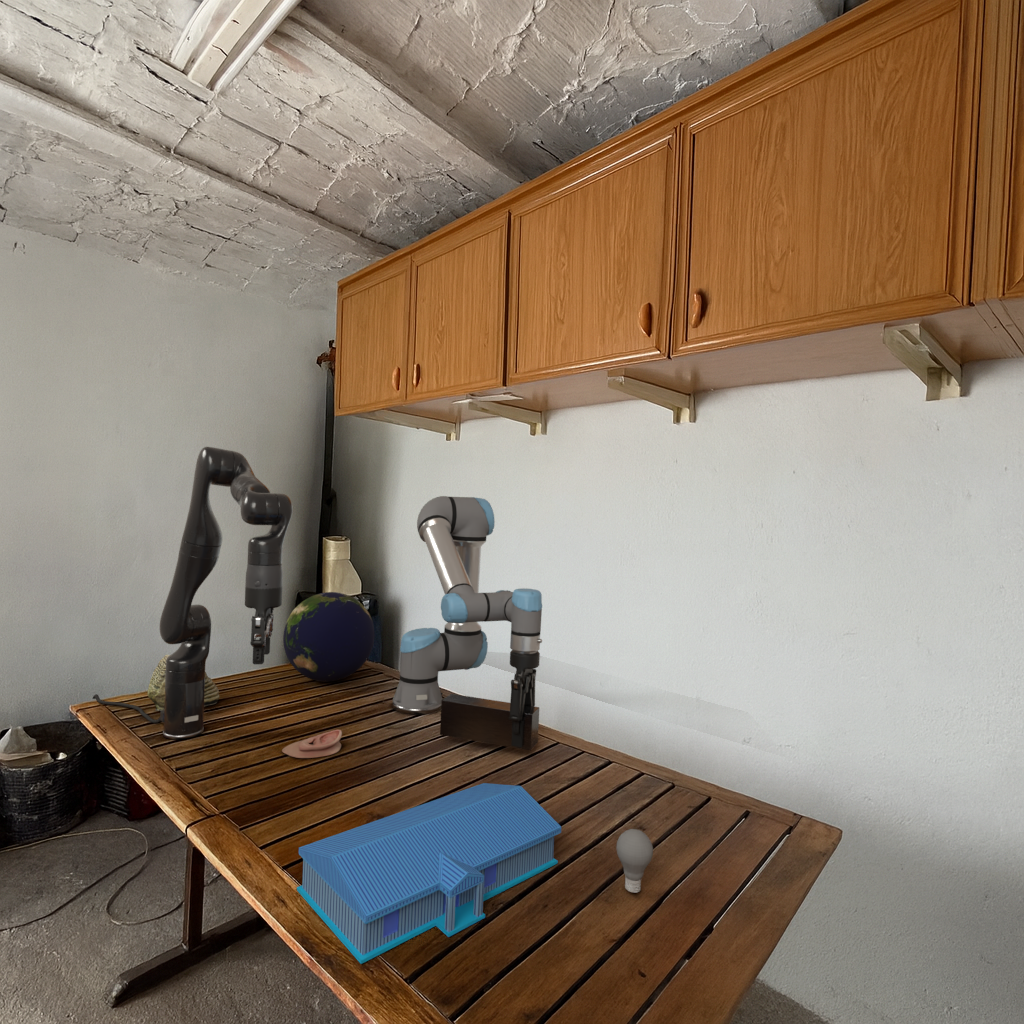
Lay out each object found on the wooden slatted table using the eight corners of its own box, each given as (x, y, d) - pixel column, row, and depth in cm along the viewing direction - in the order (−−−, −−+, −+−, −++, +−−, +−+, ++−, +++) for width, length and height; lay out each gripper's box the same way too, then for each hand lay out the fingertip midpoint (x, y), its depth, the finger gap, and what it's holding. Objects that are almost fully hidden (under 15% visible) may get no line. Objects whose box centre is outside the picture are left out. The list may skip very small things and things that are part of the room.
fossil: (144, 707, 182) (145, 655, 182) (212, 696, 194) (213, 647, 194) (151, 716, 175) (153, 662, 175) (221, 703, 188) (223, 653, 188)
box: (439, 734, 165) (441, 700, 165) (449, 727, 171) (451, 693, 170) (530, 751, 157) (532, 714, 156) (537, 742, 162) (539, 707, 162)
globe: (261, 684, 208) (265, 593, 208) (321, 664, 236) (324, 584, 236) (336, 698, 197) (339, 602, 197) (389, 675, 225) (393, 591, 224)
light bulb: (610, 879, 108) (613, 822, 108) (644, 879, 109) (647, 822, 109) (619, 902, 102) (622, 840, 102) (655, 901, 103) (658, 840, 103)
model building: (372, 977, 84) (375, 903, 84) (295, 888, 102) (297, 827, 102) (571, 871, 110) (574, 814, 110) (482, 815, 129) (484, 766, 128)
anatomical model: (275, 738, 153) (300, 722, 164) (275, 755, 153) (300, 738, 164) (326, 745, 150) (348, 728, 162) (325, 762, 151) (347, 744, 162)
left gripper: (278, 589, 131) (275, 667, 132) (286, 580, 145) (283, 650, 146) (239, 589, 130) (236, 668, 130) (251, 580, 144) (248, 651, 144)
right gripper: (527, 660, 150) (523, 757, 150) (549, 644, 168) (546, 731, 168) (498, 656, 153) (494, 752, 153) (522, 641, 171) (519, 727, 171)
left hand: (261, 658), depth 138 cm, fingers open, 8 cm apart
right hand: (521, 741), depth 161 cm, fingers closed on box, 6 cm apart
